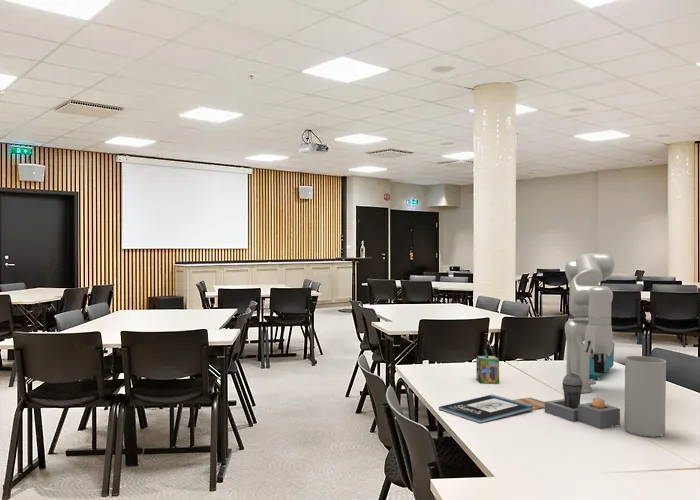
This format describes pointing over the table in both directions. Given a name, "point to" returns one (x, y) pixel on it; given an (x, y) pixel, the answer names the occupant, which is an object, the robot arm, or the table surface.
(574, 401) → the beverage cup
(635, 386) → the cylinder vase
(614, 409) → the grey hollow tray
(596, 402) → the brown egg
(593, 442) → the table surface
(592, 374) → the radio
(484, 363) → the chalk box
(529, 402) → the pad
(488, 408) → the sketchbook
